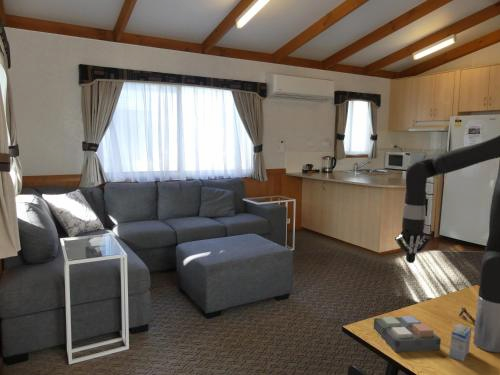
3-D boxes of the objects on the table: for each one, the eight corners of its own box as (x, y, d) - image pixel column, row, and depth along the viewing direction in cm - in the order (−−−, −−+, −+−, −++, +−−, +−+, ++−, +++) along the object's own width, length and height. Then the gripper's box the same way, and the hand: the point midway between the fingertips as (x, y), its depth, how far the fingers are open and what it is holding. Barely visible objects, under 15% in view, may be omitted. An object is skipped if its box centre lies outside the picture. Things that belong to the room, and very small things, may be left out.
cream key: (404, 333, 135) (404, 326, 135) (411, 340, 131) (412, 333, 130) (391, 333, 135) (391, 327, 134) (398, 341, 130) (398, 334, 130)
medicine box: (454, 347, 133) (456, 323, 132) (469, 351, 130) (471, 327, 129) (448, 356, 127) (451, 331, 126) (464, 362, 124) (466, 336, 123)
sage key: (393, 322, 143) (393, 316, 143) (399, 329, 138) (400, 323, 138) (380, 323, 142) (381, 317, 142) (387, 329, 138) (387, 323, 137)
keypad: (413, 326, 146) (414, 316, 146) (439, 349, 131) (440, 338, 130) (373, 328, 144) (374, 318, 144) (395, 352, 128) (396, 341, 128)
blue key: (412, 322, 144) (412, 316, 144) (419, 328, 139) (420, 322, 139) (400, 322, 143) (400, 316, 143) (407, 329, 139) (407, 322, 138)
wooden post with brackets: (459, 313, 157) (464, 305, 155) (474, 329, 151) (479, 321, 148) (455, 313, 156) (460, 306, 154) (470, 330, 150) (476, 322, 148)
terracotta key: (424, 329, 136) (424, 323, 136) (432, 336, 132) (433, 330, 131) (411, 330, 136) (412, 323, 135) (419, 337, 131) (420, 330, 131)
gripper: (424, 214, 146) (420, 258, 148) (391, 214, 144) (388, 259, 146) (436, 218, 139) (432, 265, 141) (402, 218, 137) (398, 266, 139)
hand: (410, 262), depth 144 cm, fingers closed
